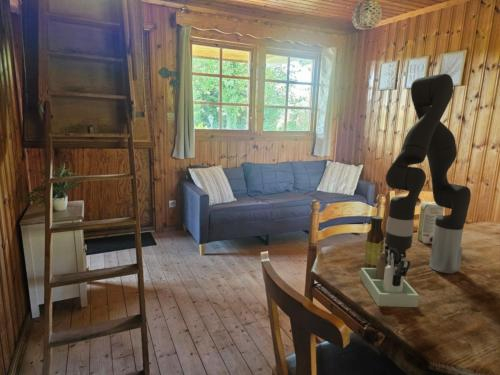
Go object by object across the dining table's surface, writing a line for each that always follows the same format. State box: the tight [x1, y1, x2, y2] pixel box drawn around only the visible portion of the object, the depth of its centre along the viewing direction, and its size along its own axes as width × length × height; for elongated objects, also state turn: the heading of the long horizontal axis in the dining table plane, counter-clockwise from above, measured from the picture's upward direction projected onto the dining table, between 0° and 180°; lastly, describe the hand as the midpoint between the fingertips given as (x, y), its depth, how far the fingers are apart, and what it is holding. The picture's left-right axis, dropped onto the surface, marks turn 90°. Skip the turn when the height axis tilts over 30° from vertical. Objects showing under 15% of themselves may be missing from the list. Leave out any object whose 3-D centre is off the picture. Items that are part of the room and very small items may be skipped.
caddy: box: [359, 251, 420, 308], centre depth 107 cm, size 12×18×12 cm, turn 179°
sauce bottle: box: [364, 215, 385, 268], centre depth 124 cm, size 7×6×20 cm
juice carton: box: [416, 200, 445, 245], centre depth 152 cm, size 8×9×19 cm
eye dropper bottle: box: [383, 261, 405, 293], centre depth 102 cm, size 4×6×12 cm
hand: (393, 282), depth 103 cm, fingers closed on eye dropper bottle, 3 cm apart
